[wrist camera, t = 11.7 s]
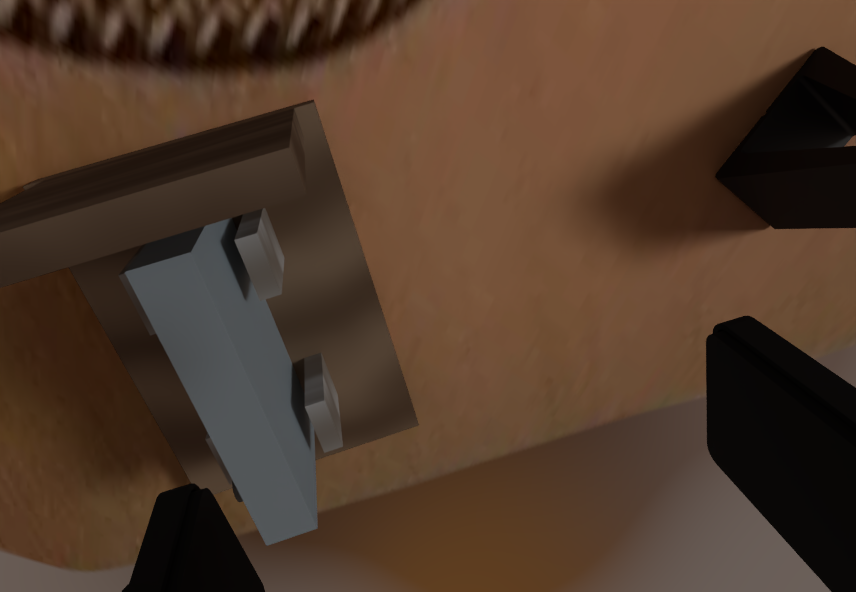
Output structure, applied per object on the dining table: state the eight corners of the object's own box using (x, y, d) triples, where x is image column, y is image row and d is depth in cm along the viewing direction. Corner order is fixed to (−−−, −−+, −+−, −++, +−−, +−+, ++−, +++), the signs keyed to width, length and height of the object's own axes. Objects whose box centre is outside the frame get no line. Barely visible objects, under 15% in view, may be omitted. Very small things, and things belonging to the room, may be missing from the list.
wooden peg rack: (36, 179, 28) (-163, 280, 16) (313, 99, 30) (321, 137, 17) (203, 482, 37) (155, 696, 25) (414, 411, 38) (467, 584, 26)
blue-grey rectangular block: (158, 212, 29) (101, 278, 21) (222, 194, 29) (191, 252, 21) (261, 433, 35) (249, 551, 27) (313, 416, 35) (317, 528, 27)
